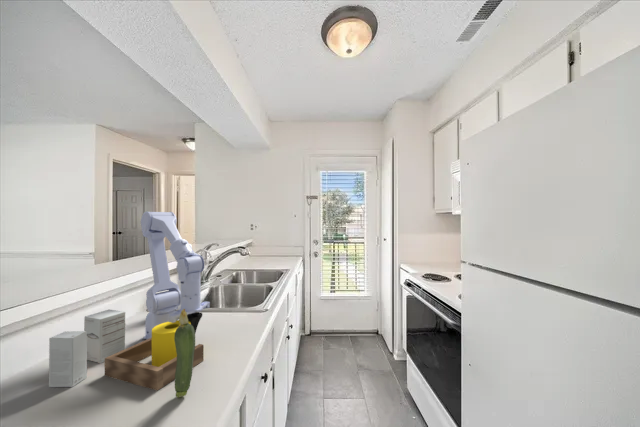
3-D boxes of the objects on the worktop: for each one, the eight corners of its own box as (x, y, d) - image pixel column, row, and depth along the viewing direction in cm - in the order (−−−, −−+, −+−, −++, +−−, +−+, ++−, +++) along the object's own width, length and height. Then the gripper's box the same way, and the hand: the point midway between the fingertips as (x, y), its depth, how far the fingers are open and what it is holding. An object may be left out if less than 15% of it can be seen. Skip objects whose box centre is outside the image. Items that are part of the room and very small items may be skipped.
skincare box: (87, 377, 70) (88, 330, 70) (72, 387, 65) (72, 337, 66) (64, 377, 70) (65, 330, 70) (47, 387, 65) (48, 338, 66)
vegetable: (179, 389, 64) (179, 304, 65) (198, 388, 64) (198, 304, 65) (170, 401, 60) (170, 310, 60) (190, 400, 60) (191, 310, 60)
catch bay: (104, 375, 70) (104, 358, 70) (155, 350, 84) (155, 335, 84) (157, 390, 64) (157, 371, 64) (203, 360, 77) (203, 344, 77)
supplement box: (82, 360, 79) (83, 316, 79) (109, 348, 86) (110, 308, 86) (99, 364, 76) (99, 319, 76) (126, 352, 83) (126, 310, 83)
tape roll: (158, 353, 82) (158, 322, 82) (193, 349, 84) (193, 318, 85) (145, 371, 72) (146, 335, 72) (186, 365, 75) (186, 331, 75)
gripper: (181, 301, 77) (181, 349, 77) (216, 289, 91) (217, 330, 90) (163, 299, 79) (163, 346, 79) (200, 287, 93) (200, 327, 93)
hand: (190, 337), depth 85 cm, fingers closed
